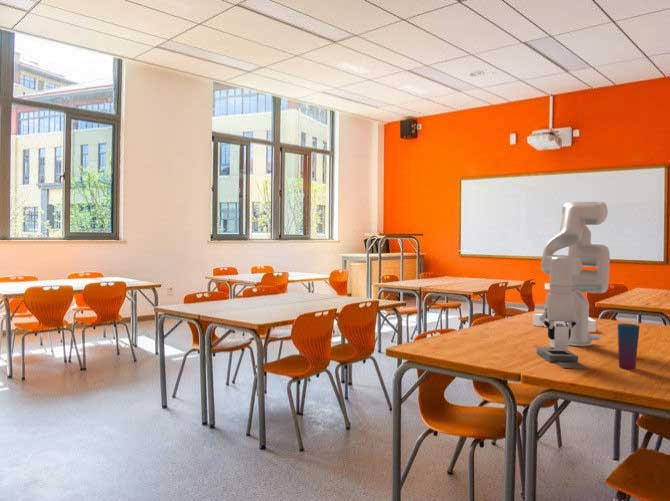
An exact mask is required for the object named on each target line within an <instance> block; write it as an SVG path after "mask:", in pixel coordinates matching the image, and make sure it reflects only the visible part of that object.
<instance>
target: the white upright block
mask: <svg viewBox="0 0 670 501" xmlns="http://www.w3.org/2000/svg"><path fill="white" fill-rule="evenodd" d="M553 329H554V339H553V340H551V339H550V338H549V347H553V348H564V349H566V350H568V349H569V345H568V339H569V327H568V326H566V325H564V324H561V323H556V324H554V325H553Z"/></svg>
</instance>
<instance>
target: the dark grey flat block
mask: <svg viewBox="0 0 670 501" xmlns="http://www.w3.org/2000/svg"><path fill="white" fill-rule="evenodd" d="M536 354H537V355H539V356H540V357H541V358H543V359H544V360H545V361H547V362H548V363H556V362H575V363H579V356H578V355H577V354H575V353H574V352H572V351H570V350H568V349H564V348H553V347H552V346H536Z"/></svg>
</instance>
